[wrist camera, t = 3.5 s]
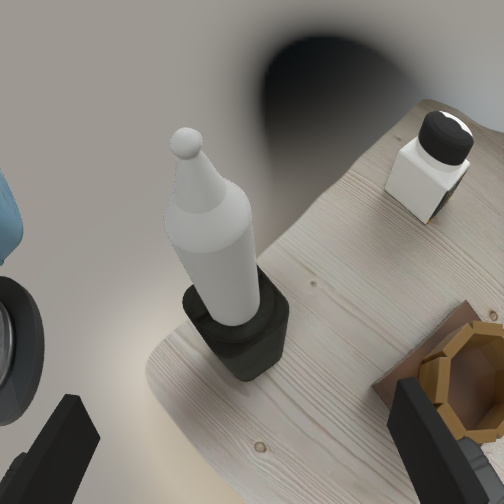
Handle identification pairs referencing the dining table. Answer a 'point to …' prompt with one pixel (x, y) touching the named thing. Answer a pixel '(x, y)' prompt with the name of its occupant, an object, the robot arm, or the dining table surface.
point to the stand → (458, 374)
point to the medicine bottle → (431, 165)
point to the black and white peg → (222, 264)
